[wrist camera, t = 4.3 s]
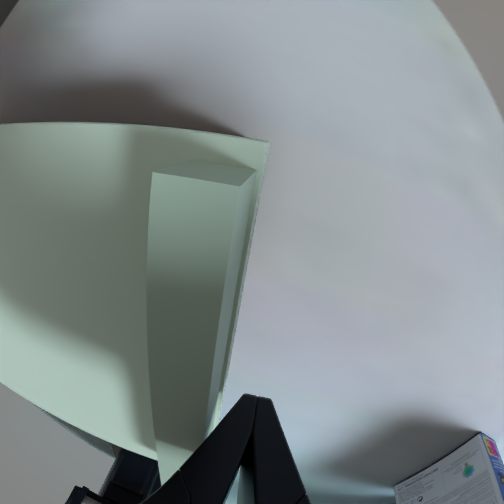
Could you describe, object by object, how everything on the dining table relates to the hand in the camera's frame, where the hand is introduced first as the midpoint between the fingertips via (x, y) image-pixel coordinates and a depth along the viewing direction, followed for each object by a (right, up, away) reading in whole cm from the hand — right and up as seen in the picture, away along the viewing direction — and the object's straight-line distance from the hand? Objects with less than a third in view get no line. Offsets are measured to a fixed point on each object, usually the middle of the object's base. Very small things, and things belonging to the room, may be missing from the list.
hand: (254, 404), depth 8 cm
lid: (-9, +2, +2) cm, 9 cm away
